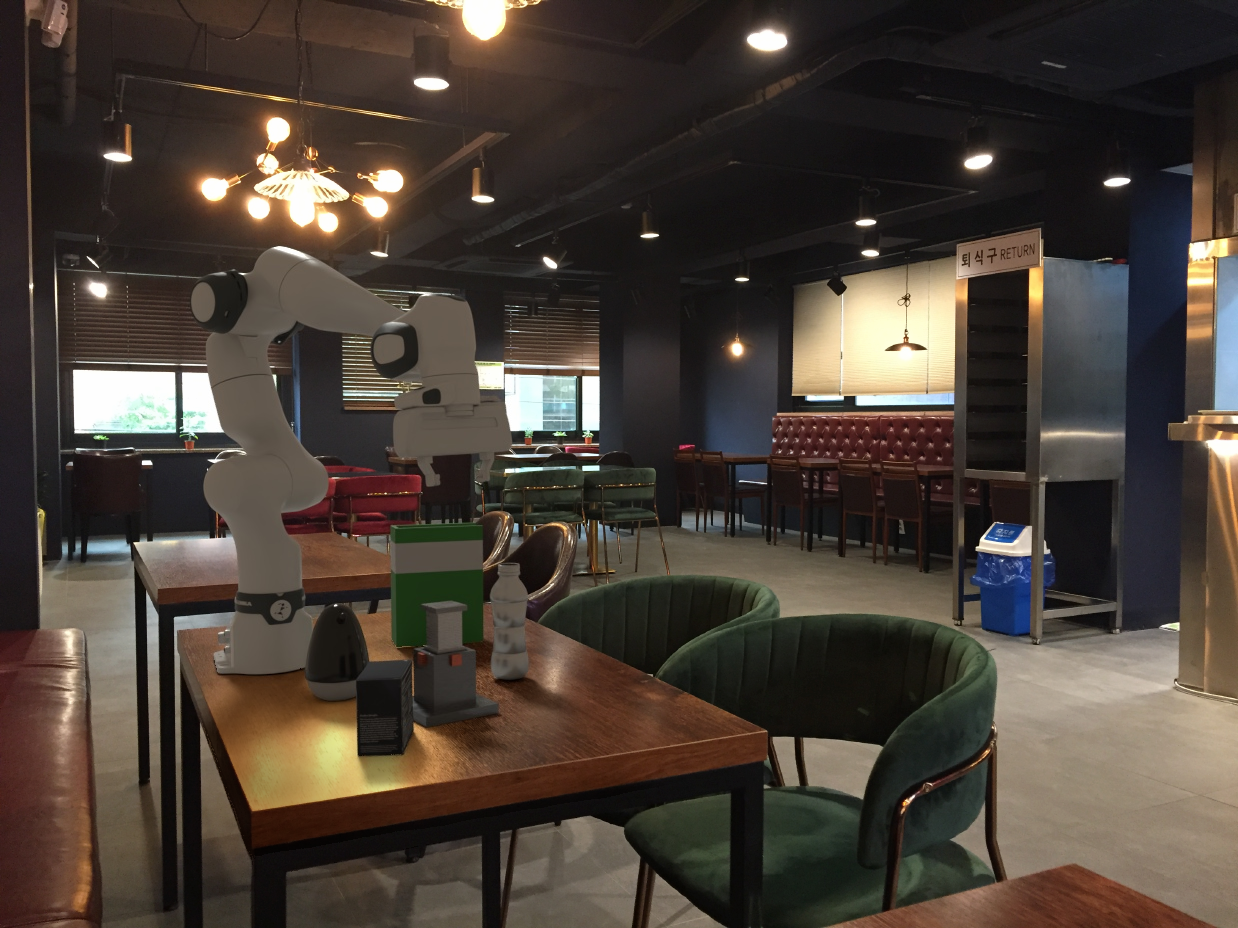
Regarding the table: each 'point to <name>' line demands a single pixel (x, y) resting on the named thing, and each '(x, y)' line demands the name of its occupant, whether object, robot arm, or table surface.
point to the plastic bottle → (509, 624)
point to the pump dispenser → (336, 654)
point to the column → (444, 627)
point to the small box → (384, 708)
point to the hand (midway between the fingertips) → (458, 483)
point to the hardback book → (435, 577)
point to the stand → (447, 688)
